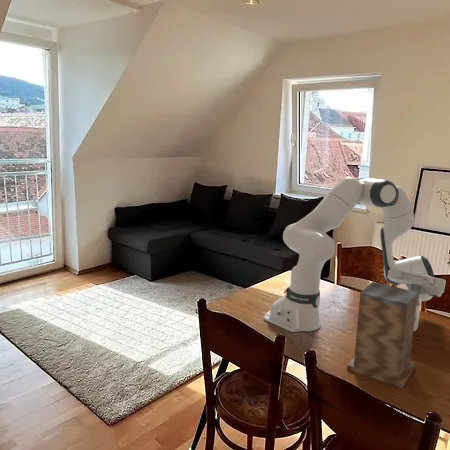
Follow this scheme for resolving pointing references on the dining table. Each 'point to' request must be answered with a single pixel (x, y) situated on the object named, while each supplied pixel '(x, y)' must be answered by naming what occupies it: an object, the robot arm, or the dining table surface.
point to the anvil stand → (385, 334)
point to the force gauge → (417, 289)
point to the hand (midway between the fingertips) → (413, 275)
